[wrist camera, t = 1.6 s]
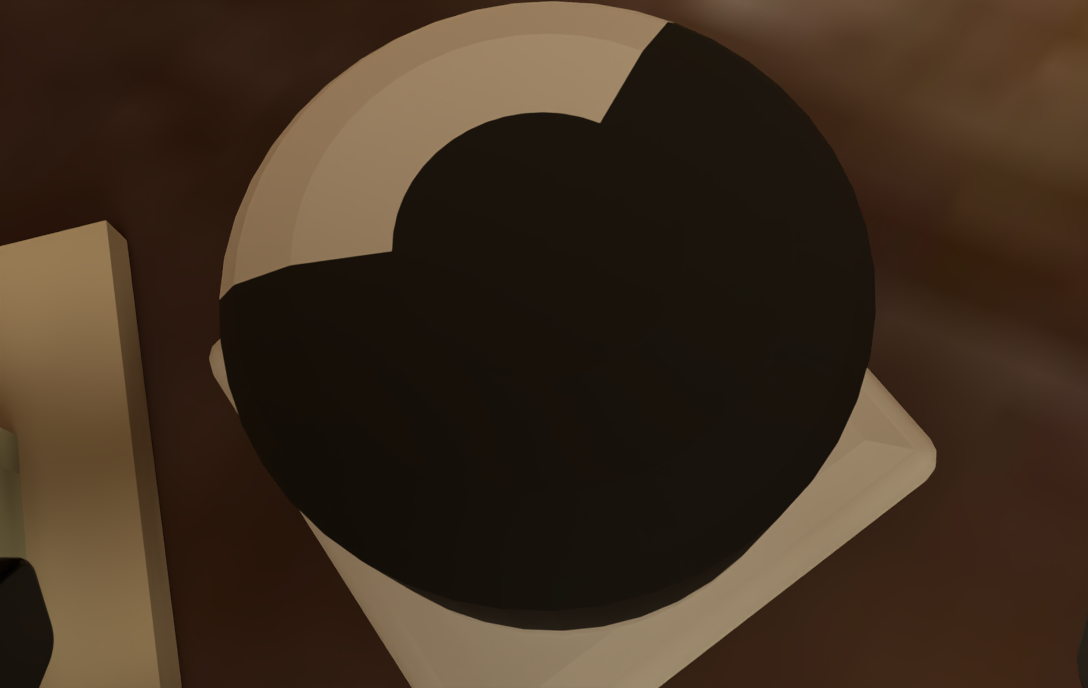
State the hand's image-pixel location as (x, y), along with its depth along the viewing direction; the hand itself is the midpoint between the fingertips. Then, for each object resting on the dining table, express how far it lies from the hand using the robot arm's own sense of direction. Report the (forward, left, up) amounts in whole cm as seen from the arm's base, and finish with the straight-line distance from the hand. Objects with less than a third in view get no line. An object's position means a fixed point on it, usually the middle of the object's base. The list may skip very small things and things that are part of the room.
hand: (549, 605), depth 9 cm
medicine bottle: (+3, -1, -11) cm, 12 cm away
